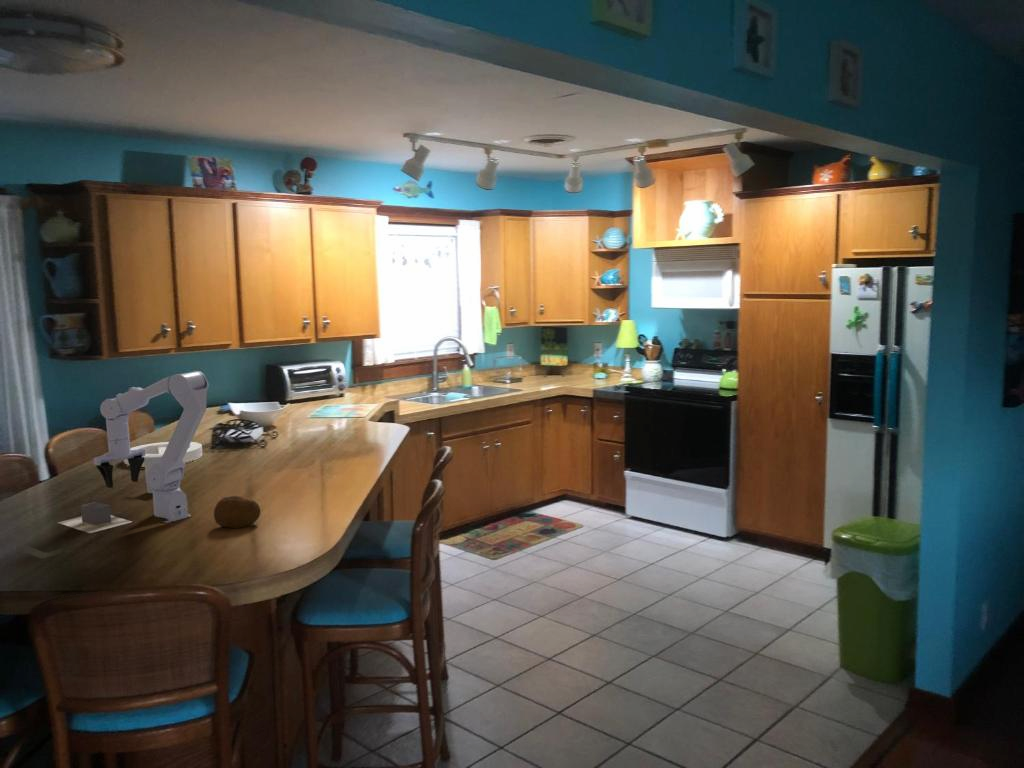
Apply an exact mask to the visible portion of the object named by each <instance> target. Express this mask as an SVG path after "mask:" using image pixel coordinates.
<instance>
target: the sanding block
mask: <svg viewBox="0 0 1024 768" xmlns="http://www.w3.org/2000/svg"><path fill="white" fill-rule="evenodd" d="M80 511H81V513H80V514H81V516H82V523H85V524H88V525H91V526H94V527H96V526H100V525H104V524H108V523H111V516H112V514H111V505H110V504H107V503H104V502H99V501H93V502H89V503H86V504H82V505H80Z"/></svg>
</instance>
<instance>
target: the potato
mask: <svg viewBox="0 0 1024 768" xmlns="http://www.w3.org/2000/svg"><path fill="white" fill-rule="evenodd" d="M260 516H261V508H260V506H259V503H257V502H256V501H255V500H252V499H248V498H247V499H246V498H243V497H242V496H238V495H231V496H225V497H223V498H221V499H220V500H219V501H218V502H217V503H216V505H215V507H214V510H213V519H214V521H215V522H216V524H217V525H218V526H220V527H225V528H230V529H232V528H233V529H239V528H240V527H241V528H246V527H249V526H251V525H253V524H255V522H257V520H258V519H259V518H260Z"/></svg>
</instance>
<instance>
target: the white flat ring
mask: <svg viewBox="0 0 1024 768" xmlns="http://www.w3.org/2000/svg"><path fill="white" fill-rule="evenodd" d="M168 443H169V441H163V442H161V441H160V442H153V443H148V444H142V445H137V446H131V447H130V450H137V449H145V456H142V457H144V458H145V457H146V456H148V455H163V454H164V452H165V450H166V447H167V445H168ZM202 455H203V445H202V444H201V442H196V441H191V443H190V445H189V447H188V450H187V452H186V454H185V456H184V458H183V461H184V462H189V461H192V460H196V459H198V458H200V457H201V456H202ZM124 463H125V464H128V465H129V462H128V459H124V460H123V464H124ZM142 466H143V467H145V465H144V462H143V464H142ZM142 466H141V467H142Z"/></svg>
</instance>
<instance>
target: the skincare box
mask: <svg viewBox="0 0 1024 768" xmlns="http://www.w3.org/2000/svg"><path fill="white" fill-rule="evenodd" d="M162 456H163V455H148V456H146V457H145V458H144V465H145V468H144V471H145V472H144V473H145V475H146V473H147V472H148V470H150V469H151V468H152V467H153V466H154V463H155V462H156V461H157V460H158V459H160V458H161V457H162ZM146 490H147V494H153V491H152V490H151V488H150V487H149V486H148V485H147V484H146Z"/></svg>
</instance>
